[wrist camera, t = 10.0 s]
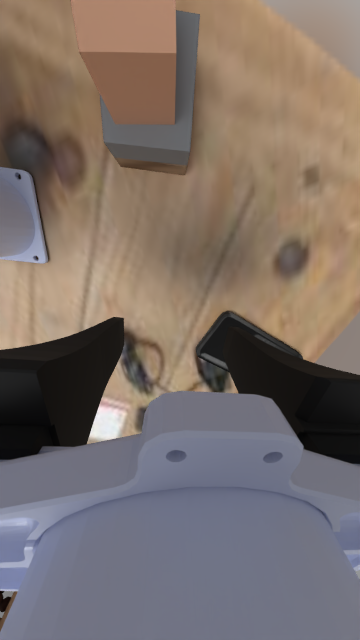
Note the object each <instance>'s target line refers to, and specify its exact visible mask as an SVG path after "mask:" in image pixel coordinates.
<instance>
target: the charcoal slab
mask: <svg viewBox="0 0 360 640" xmlns="http://www.w3.org/2000/svg"><path fill="white" fill-rule="evenodd" d="M199 19H200V14H195V13H189V12H183V11H177V10H176V92H175V125H144V124H115V123H114V121H113V119H112V117H111V115H110V113H109V111H108V109H107V107H106V105H105V103H104V101H103V99H102V97H101V95H100V103H101V115H102V127H103V139H104V143H105V144H106V146H107V147H108V149H109V150H110V152H111V153H112V155H113V156H114V157H115V158H123V159H133V160H142V161H151V162H160V163H170V164H179V165H187V164H188V159H189V154H190V144H191V130H192V116H193V102H194V88H195V75H196V61H197V47H198V33H199Z"/></svg>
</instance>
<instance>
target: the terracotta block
mask: <svg viewBox="0 0 360 640" xmlns="http://www.w3.org/2000/svg"><path fill="white" fill-rule="evenodd" d="M71 6H72V12H73V18H74V24H75V30H76V36H77V42H78V48H79V52H80V54H81V56H82V58H83V60H84V62H85V64H86V66H87V68H88V70H89V73H90V75H91V77H92V79H93V81H94V83H95V85H96V87H97V89H98V91H99V93H100V95H101V97H102V99H103V101H104V103H105V105H106V107H107V109H108V111H109V113H110V115H111V117H112V119H113V121H114V123H115V124H144V125H175V92H176V0H71Z"/></svg>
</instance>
